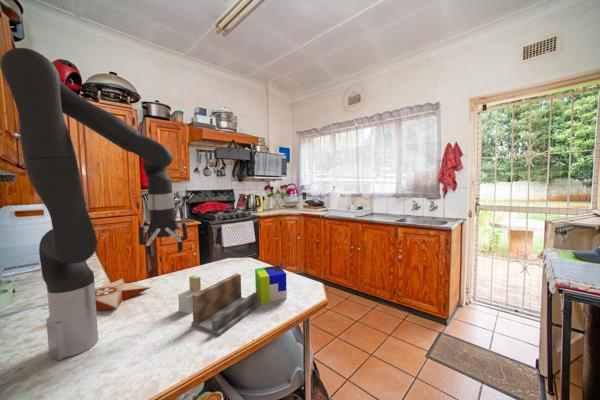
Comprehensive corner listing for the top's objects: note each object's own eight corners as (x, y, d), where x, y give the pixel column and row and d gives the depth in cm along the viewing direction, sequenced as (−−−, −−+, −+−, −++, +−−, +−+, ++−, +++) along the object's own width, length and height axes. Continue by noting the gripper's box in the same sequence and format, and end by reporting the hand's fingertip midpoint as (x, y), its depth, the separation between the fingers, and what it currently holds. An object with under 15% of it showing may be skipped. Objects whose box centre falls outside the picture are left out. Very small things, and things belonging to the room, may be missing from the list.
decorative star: (132, 271, 112) (160, 287, 94) (132, 280, 112) (161, 297, 94) (43, 294, 89) (58, 321, 71) (44, 304, 89) (59, 334, 71)
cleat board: (219, 335, 70) (218, 302, 69) (191, 325, 75) (190, 294, 75) (260, 304, 88) (260, 278, 87) (235, 298, 93) (234, 273, 92)
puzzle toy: (286, 298, 92) (286, 273, 92) (261, 303, 89) (260, 277, 88) (279, 288, 102) (278, 265, 101) (255, 292, 98) (255, 268, 97)
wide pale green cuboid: (188, 314, 82) (187, 283, 81) (179, 311, 84) (177, 280, 83) (211, 301, 91) (210, 273, 90) (202, 298, 93) (201, 271, 92)
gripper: (133, 210, 74) (138, 261, 76) (184, 207, 79) (188, 254, 81) (139, 207, 81) (143, 253, 82) (185, 204, 86) (189, 247, 88)
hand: (165, 253), depth 82 cm, fingers open, 8 cm apart
